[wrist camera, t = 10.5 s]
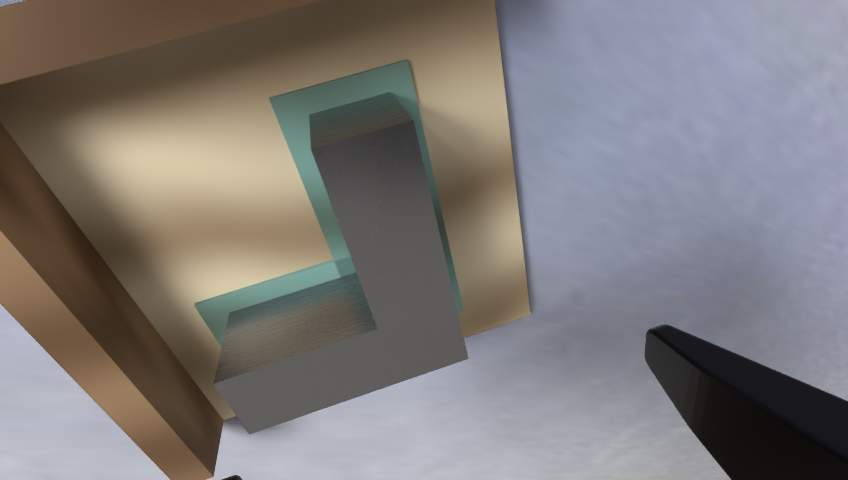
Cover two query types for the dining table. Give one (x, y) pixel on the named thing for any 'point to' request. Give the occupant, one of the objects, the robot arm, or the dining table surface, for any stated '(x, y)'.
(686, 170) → the dining table surface
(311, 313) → the angle bracket
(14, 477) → the dining table surface
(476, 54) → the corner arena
